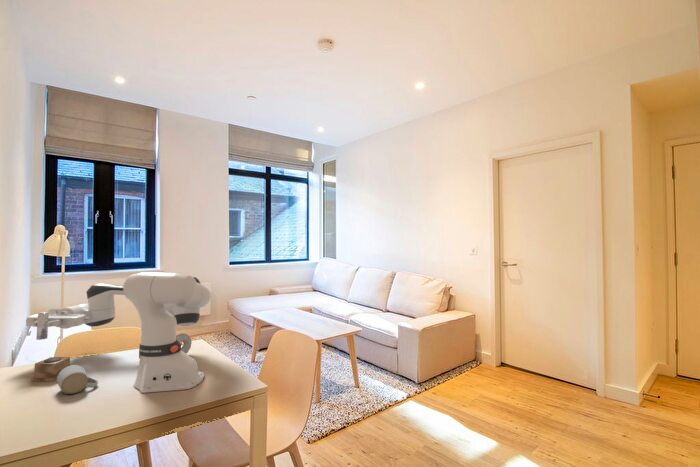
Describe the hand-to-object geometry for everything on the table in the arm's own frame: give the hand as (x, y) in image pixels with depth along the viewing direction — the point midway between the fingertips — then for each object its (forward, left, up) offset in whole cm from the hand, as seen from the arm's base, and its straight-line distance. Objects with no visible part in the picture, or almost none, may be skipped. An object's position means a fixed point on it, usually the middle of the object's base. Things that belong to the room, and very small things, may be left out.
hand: (40, 324), depth 133 cm
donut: (-47, -16, -18) cm, 52 cm away
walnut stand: (-11, +7, -17) cm, 22 cm away
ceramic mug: (-28, +18, -18) cm, 38 cm away
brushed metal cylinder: (0, -1, -6) cm, 6 cm away
